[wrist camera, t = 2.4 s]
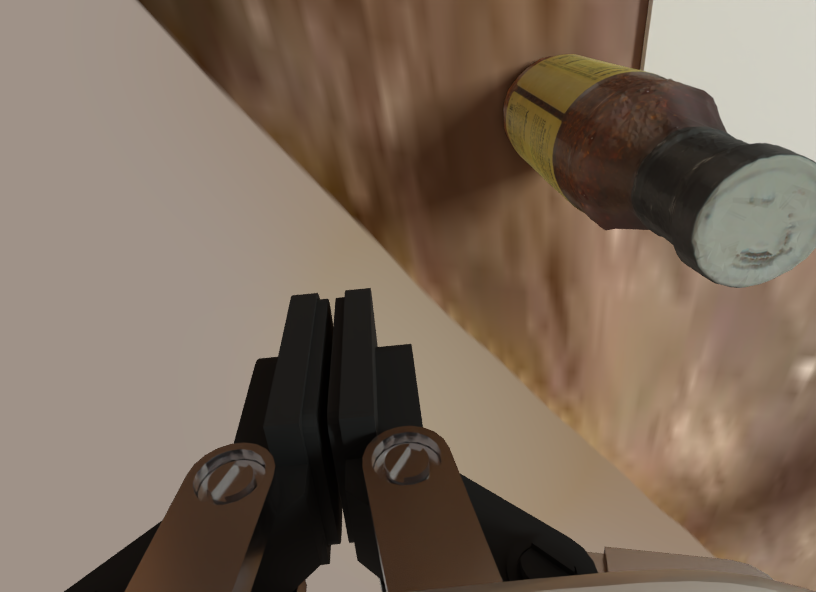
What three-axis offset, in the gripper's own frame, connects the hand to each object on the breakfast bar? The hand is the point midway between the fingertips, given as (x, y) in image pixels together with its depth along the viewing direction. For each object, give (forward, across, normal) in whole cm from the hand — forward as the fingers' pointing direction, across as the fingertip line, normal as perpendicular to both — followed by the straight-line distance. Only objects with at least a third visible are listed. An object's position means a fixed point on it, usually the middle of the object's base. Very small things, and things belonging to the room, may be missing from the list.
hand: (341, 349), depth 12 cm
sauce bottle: (+24, -12, 0) cm, 26 cm away
